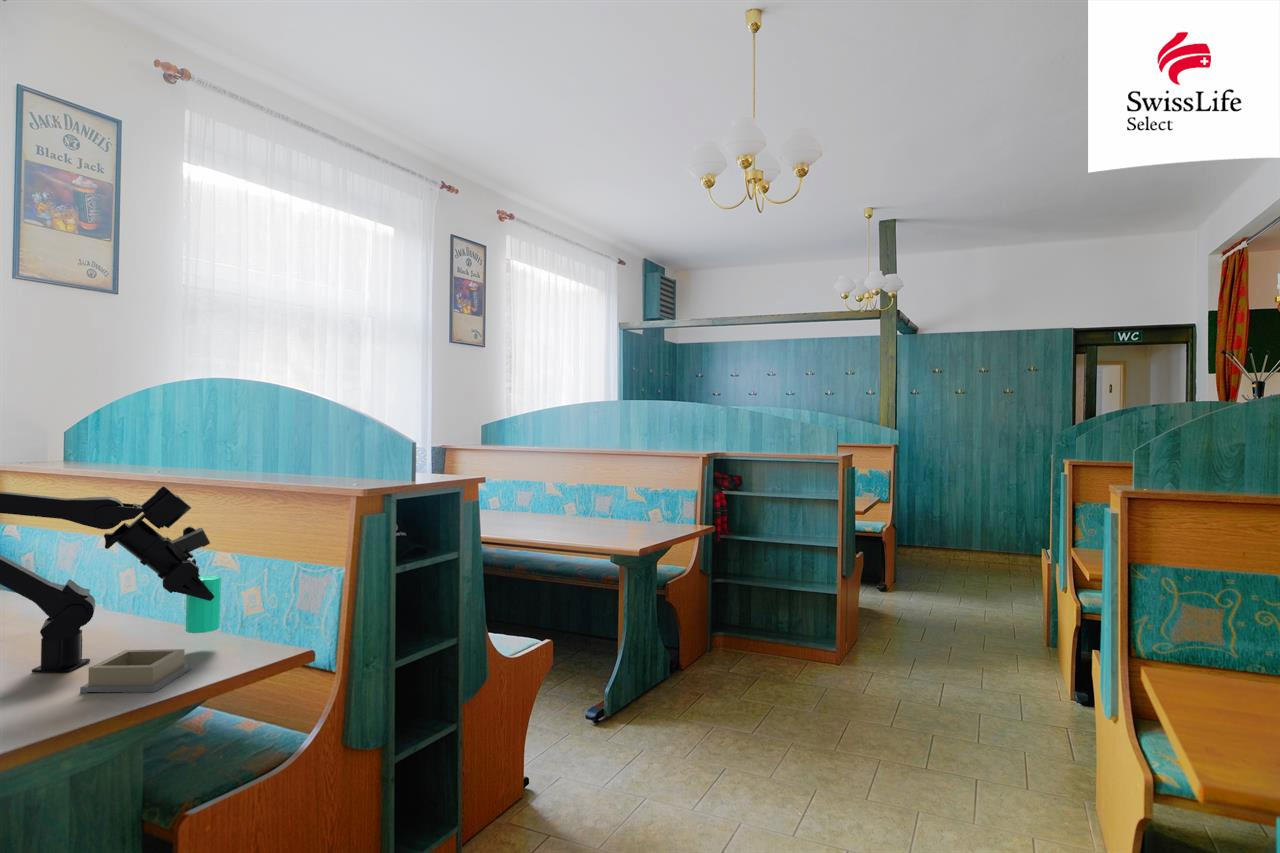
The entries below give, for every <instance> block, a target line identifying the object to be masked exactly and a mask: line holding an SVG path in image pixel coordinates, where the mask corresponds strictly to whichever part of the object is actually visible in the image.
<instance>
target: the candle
mask: <svg viewBox="0 0 1280 853" xmlns="http://www.w3.org/2000/svg"><path fill="white" fill-rule="evenodd" d="M205 572H206V571H205V570H203V576H201V577H199V578H200V580H201V581H202V582H203V583H204V584H205V586H206V587H207V588H208V589H209V590H210V592H211V593H212V594H213V595H214V598H213V599H212V600H211V601H209V600H205V599H201V598H197V597H194V596H190V595H186V600H185V601H186V602H185V606H186V607H185V609H186V610H185V632H187V633H189V634H204V633H205V634H206V633H211V632H214V631H218V630H219V629H220V627H221V595H222V594H221V588H222V586H221V585H222V576H215V575H211V574H209V575H205V574H206V573H205Z"/></svg>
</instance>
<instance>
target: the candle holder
mask: <svg viewBox="0 0 1280 853" xmlns="http://www.w3.org/2000/svg"><path fill="white" fill-rule="evenodd" d="M190 670H192V664H191V663H185V648H184V649H177V648H176V649H175V648H173V649H172V648H171V649H124V650H123V651H120V652H118V653H117V654H114V655H112V656H110V657H108V658H106V659H104V660H103V661H100V662H98V663H96V664H94V665H92V666H90V667H88V678H87V679H88V683H86V684H84V685H82V686H80V687H79V688H80V691H79V694H88V693H87V692H132V693H155V692H157V691H159V690H160V688H161V689H162V688H164V687H165V686H168V684H170V683H172V682H173V681H175V680H176V679H178V678H179V676H180V677H181V676H183V675H184V674H186V673H188V672H189V671H190ZM185 672H186V673H185ZM182 674H183V675H182ZM174 679H175V680H174ZM171 681H172V682H171ZM163 686H164V687H163Z"/></svg>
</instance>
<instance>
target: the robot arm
mask: <svg viewBox="0 0 1280 853" xmlns="http://www.w3.org/2000/svg"><path fill="white" fill-rule="evenodd" d="M191 509H192V507H191V506H190V505H189V504H188V503H187V502H186V501H185V500H184V499H183V498H182V497H181V496H179V495H178V494H175V493H174V492H172V490H170V489H168V488H167V487H166V486H165V485H162V486H161V487H159V489H158V490H156V492H155V493H154V494H153V495H152V496H150V497H149V498H148V499H147V500H146V501H145V502H143V503H142V504H137V503H125V502H122V501H121V500H120V499H118V498H116V497H114V496H113V497H112V496H91V497H88V496H87V497H74V498H68V497H67V498H66V497H65V498H64V497H55V496H49V495H48V496H47V495H36V494H30V493H29V494H28V493H20V492H19V493H18V492H11V491H10V492H9V491H0V514H4V515H5V514H7V515H16V516H28V517H38V518H46V519H47V518H48V519H56V520H57V519H58V520H59V519H60V520H65V521H68V522H72V523H74V524H79V525H81V526H86V527H90V528H94V529H98V530H111V529H114V528H116V526H119V524H121V522H123V523H122V524H121V525H120V526H119V527H118V528H116V529H115V530H114V531H113V532H105V533H104V534H103V537H104V548H105V550H108V549H110V548H111V547H112V546H113V545H115V544H116V543H117V544H119V545H120V546H121V547H122V548H124V549H125V550H126V551H127V552H129V553H130V554H131V555H133V556H134V557H135V558H136V559H137V560H139V563H141V565H143V566H147V567H148V568H149V569H150V570H151V571H153V572H154V573H156V574H157V577H158V578H159V579H161V580H162V588H163V589H164V590H166V591H167V592H168V593H170V594H173V593H177V594H182V595H186V596H187V595H190V596H194V597H197V598H201V599H205V600H209V601H211V600H212V599H213V598H214V595H213V594H212V593H211V592H210V590H209V589H208V588H207V587H206V586H205V584H204V583H203V582H202V581H201V580H200V578H199V577H202V576H201V575H200V573H199V572H200V568H199V566H198V565H197V560H196V558H194V554H193V553H191V552H193V551H195V550H197V549H199V548H202V547H203V548H204V547H206V546H208V545H210V544H211V542H210V540H209V538H208V536H207V534H206V532H205V530H204V528H203V527H198V528H197V529H196V528H194V527H193V526H191V525H190V526H188V527H184V528H183V529H182V536H181V535H180V536H178V537H176V538H175V539H174V540H173V539H170V538H169V537H168V536H166V537H165V536H163V535H161V534H160V533H159V532H158V531H156V530H155V529H154V528H153V527H151V526H150V525H149V524H148V523H146V522H145V521H144V519H146V520H147V521H148V522H149V523H150V524H152V526H154V527H155V528H157V529H158V530H160V529H161V528H162V529H163V528H167V529H169V528H171V527H172V526H174V524H175V523H176V522H178V521H179V520H180V519H181V518H182V517H183V516H185V515H186V514H187V513H188V512H189V511H190V510H191ZM140 514H141V515H140ZM137 517H138V518H137ZM134 519H135V520H134ZM129 520H134V521H133V522H131V523H130V524H129V523H126V522H124V521H129ZM190 559H192V560H190ZM0 585H1V586H3V587H5V588H6V589H9V590H10V591H13V592H14V593H16V594H18V595H20V596H22V597H23V598H26V599H27V600H29V601H31V602H32V603H34V604H36V605H37V606H38V608H39V609H41V611H43V613H44V614H45V615H47V617H48V618H46V619H45V620H44V622H43V625H42V627H41V629H40V630H39V633H40V635H41V637H42V638H41V640H40V643H41V644H40V665H38V666H36V667H35V668H32V669H31V673H68V672H71V671H73V670H75V669H77V668H79V667H81V666H84V665H86V664H87V663H90V662H91V658H83V629H81V628H82V627H83V626H84V627H85V625H87V624H88V623H89V622H90V621H91V620H92V618H93V617H94V613H95V609H96V600H95V597H94V596H93V595H91V594H90V592H91V589H89V588H84V587H82V586H80V585H78V584H77V583H76V582H75V581H73V580H72V579H71V578H70V579H68V580H67V581H66V582H65V584H59V583H57V582H56V583H55V582H52V581H50V580H48V579H46V578H44V577H42V576H41V575H39V574H37V573H36V572H33V571H32V570H29V569H28V568H26V567H24V566H22V565H21V564H18V563H16V562H15V561H13V560H11V559H9V558H8V557H6V556H4V555H1V554H0Z"/></svg>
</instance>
